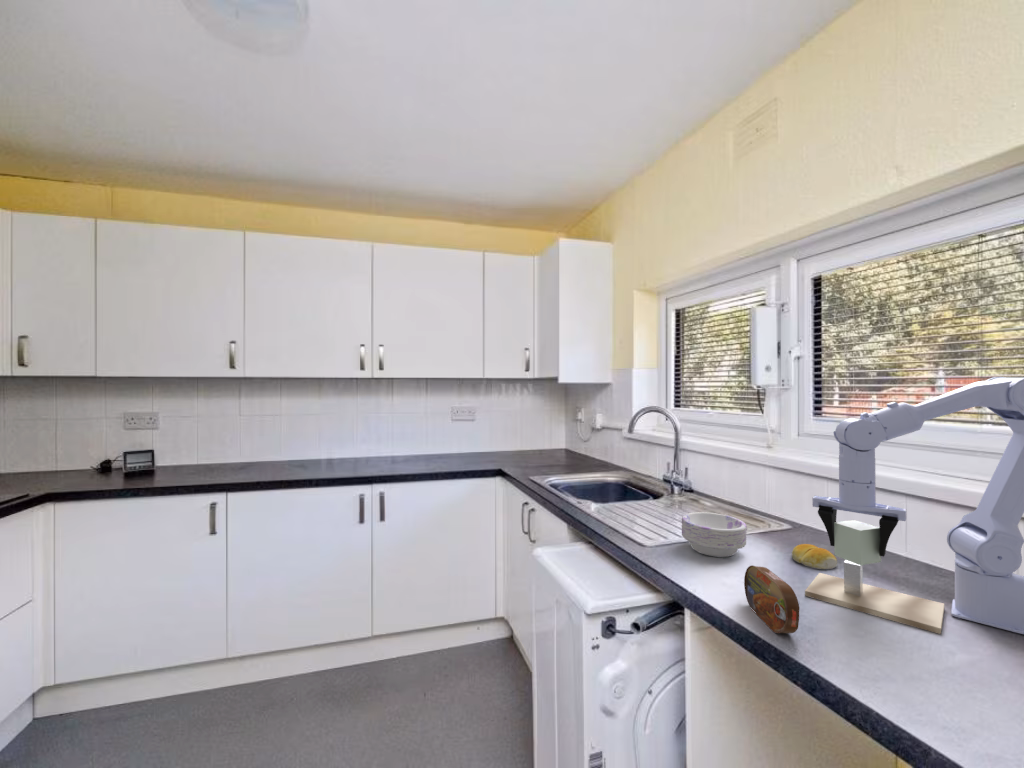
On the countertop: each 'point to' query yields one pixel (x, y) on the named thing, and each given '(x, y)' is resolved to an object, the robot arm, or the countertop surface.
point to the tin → (772, 599)
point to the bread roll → (814, 556)
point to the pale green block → (857, 542)
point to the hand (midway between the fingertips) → (857, 549)
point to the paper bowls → (714, 533)
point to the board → (880, 603)
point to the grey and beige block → (853, 578)
